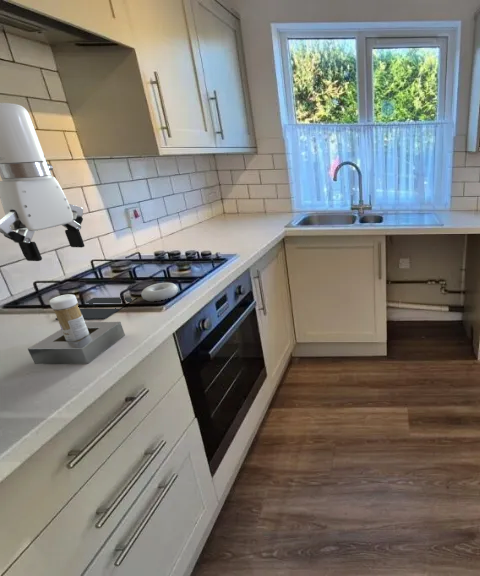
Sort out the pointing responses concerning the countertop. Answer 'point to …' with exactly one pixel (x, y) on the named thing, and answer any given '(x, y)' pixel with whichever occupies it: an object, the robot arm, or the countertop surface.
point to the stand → (77, 345)
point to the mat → (101, 313)
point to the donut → (159, 292)
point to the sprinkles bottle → (69, 317)
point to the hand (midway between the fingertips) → (57, 253)
